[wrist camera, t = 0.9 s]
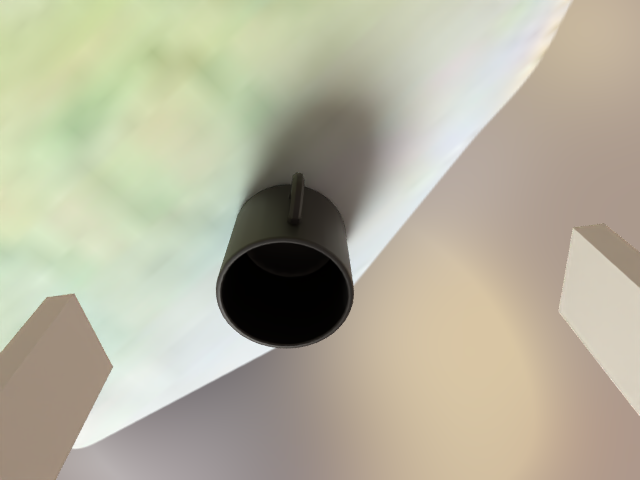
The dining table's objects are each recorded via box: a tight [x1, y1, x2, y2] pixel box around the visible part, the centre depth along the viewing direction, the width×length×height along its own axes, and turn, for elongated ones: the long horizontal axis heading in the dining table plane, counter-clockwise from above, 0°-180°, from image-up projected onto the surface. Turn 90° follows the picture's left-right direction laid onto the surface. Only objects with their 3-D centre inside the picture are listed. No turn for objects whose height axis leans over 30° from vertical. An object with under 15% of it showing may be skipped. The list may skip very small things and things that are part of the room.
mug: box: [216, 172, 354, 348], centre depth 33 cm, size 9×12×9 cm
